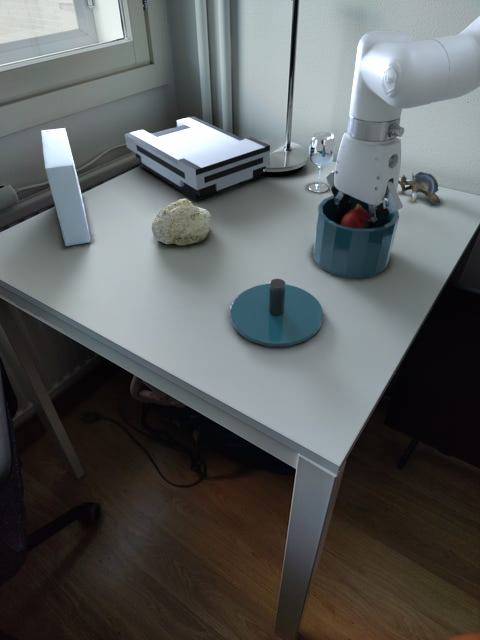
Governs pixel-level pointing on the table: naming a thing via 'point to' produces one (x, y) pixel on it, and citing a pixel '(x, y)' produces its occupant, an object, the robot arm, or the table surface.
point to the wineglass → (321, 155)
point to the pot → (352, 242)
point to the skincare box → (65, 186)
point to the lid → (276, 314)
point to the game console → (199, 156)
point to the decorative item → (181, 223)
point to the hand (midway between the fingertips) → (355, 230)
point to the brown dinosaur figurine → (421, 186)
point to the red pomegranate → (356, 218)
